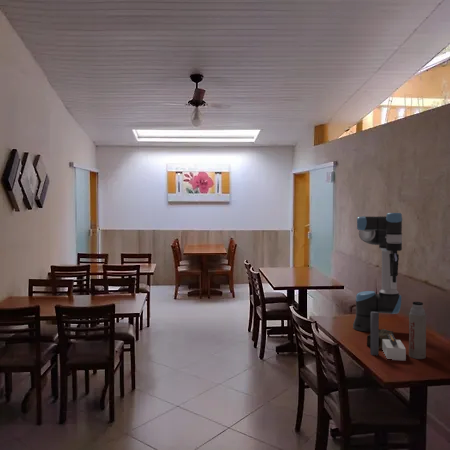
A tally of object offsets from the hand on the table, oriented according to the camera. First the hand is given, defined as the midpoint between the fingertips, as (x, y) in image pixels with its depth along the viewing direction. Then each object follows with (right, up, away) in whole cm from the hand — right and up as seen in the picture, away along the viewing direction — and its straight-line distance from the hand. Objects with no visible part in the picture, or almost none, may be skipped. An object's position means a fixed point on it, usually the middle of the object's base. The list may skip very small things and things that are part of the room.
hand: (393, 288), depth 232 cm
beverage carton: (0, -35, +21) cm, 40 cm away
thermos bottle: (+12, -35, -1) cm, 37 cm away
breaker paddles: (0, -29, +1) cm, 29 cm away
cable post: (-9, -35, +3) cm, 36 cm away
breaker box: (0, -35, +1) cm, 35 cm away
